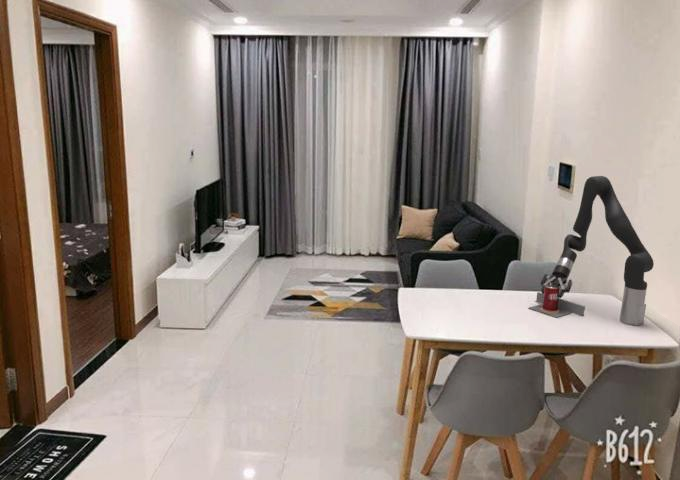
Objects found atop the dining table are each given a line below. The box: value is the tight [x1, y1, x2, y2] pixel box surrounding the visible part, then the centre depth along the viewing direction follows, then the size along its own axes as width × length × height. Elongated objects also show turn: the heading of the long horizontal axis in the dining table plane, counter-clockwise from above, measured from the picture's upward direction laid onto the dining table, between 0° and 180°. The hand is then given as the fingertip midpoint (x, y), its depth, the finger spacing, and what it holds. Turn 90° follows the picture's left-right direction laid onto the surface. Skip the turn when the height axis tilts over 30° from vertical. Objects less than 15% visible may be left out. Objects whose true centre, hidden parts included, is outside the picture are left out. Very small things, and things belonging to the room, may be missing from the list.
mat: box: [528, 303, 572, 319], centre depth 275 cm, size 16×12×1 cm
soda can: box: [542, 285, 561, 312], centre depth 274 cm, size 7×7×12 cm
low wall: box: [535, 291, 586, 317], centre depth 279 cm, size 26×1×5 cm, turn 35°
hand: (550, 295), depth 273 cm, fingers open, 8 cm apart
